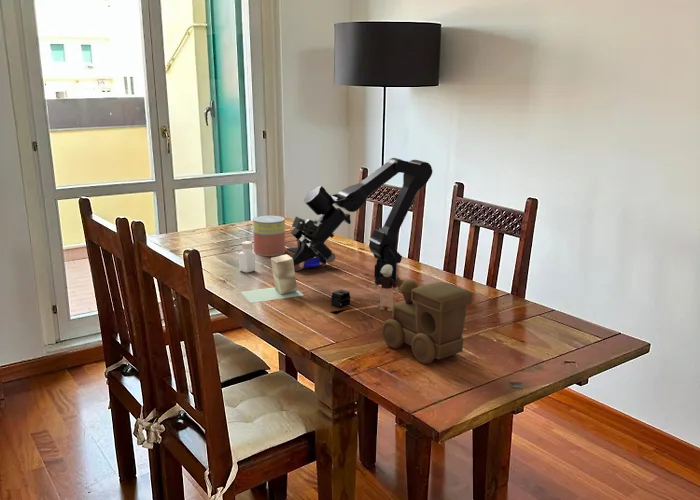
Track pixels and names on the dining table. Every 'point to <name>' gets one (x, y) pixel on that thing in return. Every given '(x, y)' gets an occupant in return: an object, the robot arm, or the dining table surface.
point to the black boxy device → (340, 300)
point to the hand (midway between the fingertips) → (291, 264)
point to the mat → (267, 295)
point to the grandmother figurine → (386, 288)
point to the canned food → (269, 235)
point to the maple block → (284, 274)
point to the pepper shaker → (247, 258)
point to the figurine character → (312, 260)
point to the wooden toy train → (428, 320)
